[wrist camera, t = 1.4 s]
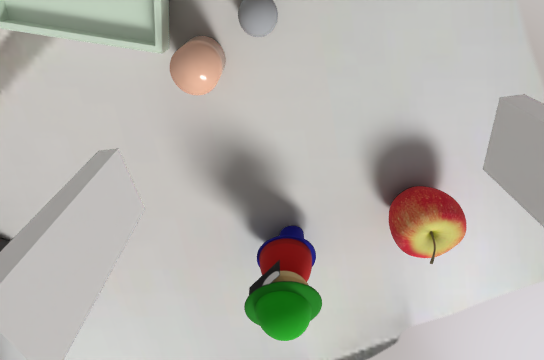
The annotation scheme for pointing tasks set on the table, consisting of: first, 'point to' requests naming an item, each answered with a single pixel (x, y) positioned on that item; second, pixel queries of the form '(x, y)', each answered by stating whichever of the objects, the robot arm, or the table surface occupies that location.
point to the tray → (93, 21)
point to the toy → (284, 286)
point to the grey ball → (257, 17)
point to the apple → (426, 222)
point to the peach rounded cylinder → (198, 65)
